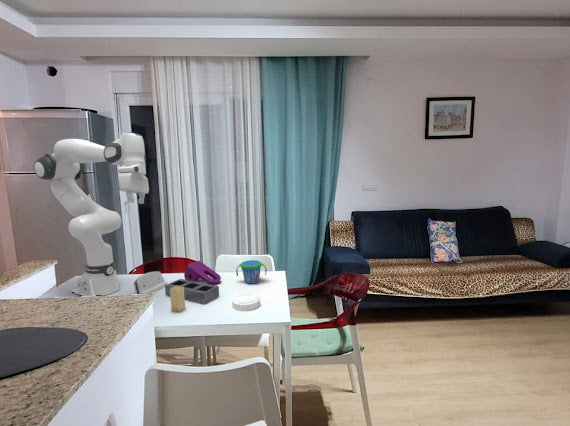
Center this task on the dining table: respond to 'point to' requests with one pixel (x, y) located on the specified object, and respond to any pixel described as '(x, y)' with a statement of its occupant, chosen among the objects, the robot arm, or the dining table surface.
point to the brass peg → (177, 299)
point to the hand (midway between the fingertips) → (136, 203)
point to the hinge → (149, 283)
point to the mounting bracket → (201, 273)
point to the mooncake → (246, 302)
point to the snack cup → (251, 271)
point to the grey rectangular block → (195, 291)
